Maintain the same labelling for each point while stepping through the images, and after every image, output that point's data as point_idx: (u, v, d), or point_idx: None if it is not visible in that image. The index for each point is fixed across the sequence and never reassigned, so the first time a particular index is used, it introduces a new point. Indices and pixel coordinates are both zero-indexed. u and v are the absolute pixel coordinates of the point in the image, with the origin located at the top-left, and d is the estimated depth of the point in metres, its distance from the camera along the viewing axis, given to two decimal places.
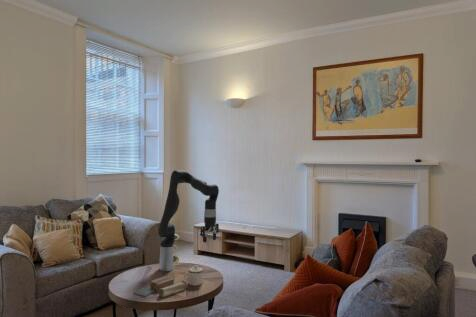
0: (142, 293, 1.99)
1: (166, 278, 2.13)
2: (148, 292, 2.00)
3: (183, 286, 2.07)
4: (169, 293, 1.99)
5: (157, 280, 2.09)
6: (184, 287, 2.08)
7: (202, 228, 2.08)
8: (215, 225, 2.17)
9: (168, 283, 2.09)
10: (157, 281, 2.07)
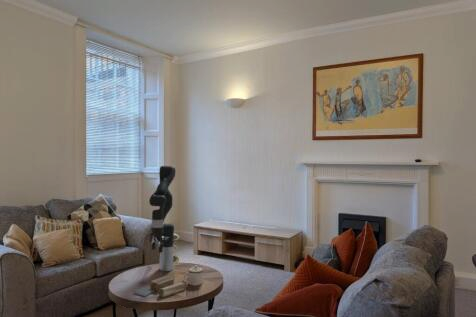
0: (142, 293, 1.99)
1: (166, 278, 2.13)
2: (148, 292, 2.00)
3: (183, 286, 2.07)
4: (169, 293, 1.99)
5: (157, 280, 2.09)
6: (184, 287, 2.08)
7: (163, 238, 2.13)
8: None
9: (168, 283, 2.09)
10: (157, 281, 2.07)
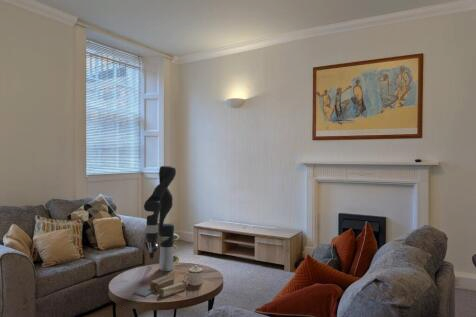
0: (142, 293, 1.99)
1: (166, 278, 2.13)
2: (148, 292, 2.00)
3: (183, 286, 2.07)
4: (169, 293, 1.99)
5: (157, 280, 2.09)
6: (184, 287, 2.08)
7: (157, 247, 2.14)
8: None
9: (168, 283, 2.09)
10: (157, 281, 2.07)
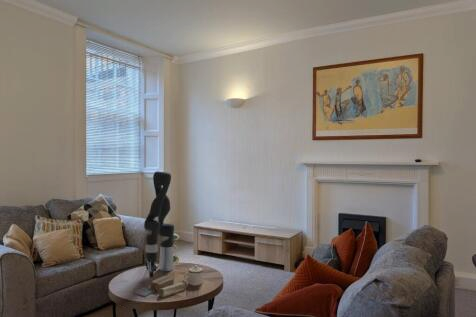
0: (142, 293, 1.99)
1: (166, 278, 2.13)
2: (148, 292, 2.00)
3: (183, 286, 2.07)
4: (169, 293, 1.99)
5: (157, 280, 2.09)
6: (184, 287, 2.08)
7: (156, 266, 2.14)
8: None
9: (168, 283, 2.09)
10: (158, 281, 2.07)
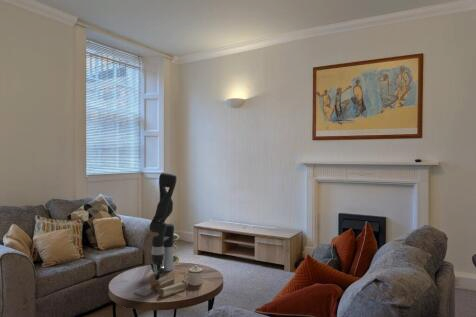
0: (142, 293, 1.99)
1: (166, 278, 2.13)
2: (148, 292, 2.00)
3: (183, 286, 2.07)
4: (169, 293, 1.99)
5: (158, 281, 2.09)
6: (184, 287, 2.08)
7: (163, 269, 2.10)
8: None
9: (169, 283, 2.09)
10: (158, 282, 2.07)
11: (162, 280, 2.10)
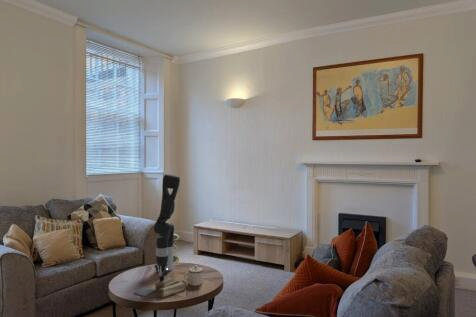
0: (142, 293, 1.99)
1: (171, 280, 2.10)
2: (148, 292, 2.00)
3: (183, 286, 2.07)
4: (169, 293, 1.99)
5: (162, 282, 2.06)
6: (184, 287, 2.08)
7: (167, 271, 2.07)
8: None
9: None
10: (163, 283, 2.04)
11: (167, 282, 2.07)
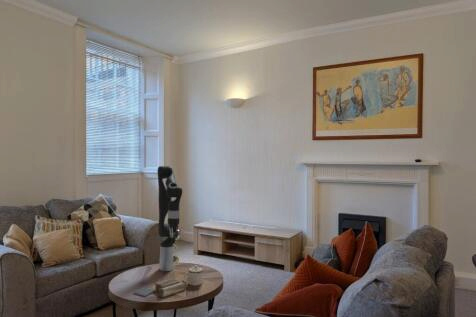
0: (142, 293, 1.99)
1: (172, 280, 2.10)
2: (148, 292, 2.00)
3: (183, 286, 2.07)
4: (169, 293, 1.99)
5: (162, 282, 2.06)
6: (184, 287, 2.08)
7: (178, 232, 2.17)
8: None
9: None
10: (162, 283, 2.05)
11: (167, 282, 2.07)
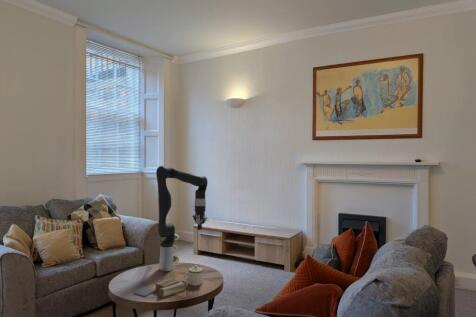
0: (142, 293, 1.99)
1: (171, 280, 2.10)
2: (148, 292, 2.00)
3: (183, 286, 2.07)
4: (169, 293, 1.99)
5: (162, 282, 2.06)
6: (184, 287, 2.08)
7: (205, 219, 2.28)
8: None
9: None
10: (163, 283, 2.04)
11: (167, 282, 2.07)
